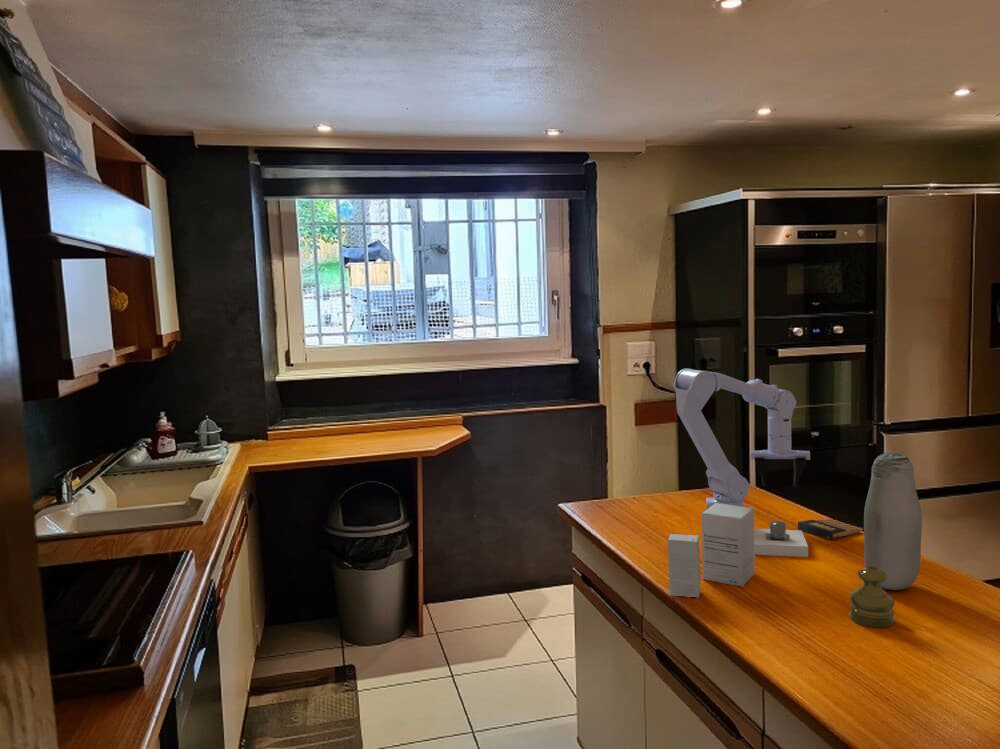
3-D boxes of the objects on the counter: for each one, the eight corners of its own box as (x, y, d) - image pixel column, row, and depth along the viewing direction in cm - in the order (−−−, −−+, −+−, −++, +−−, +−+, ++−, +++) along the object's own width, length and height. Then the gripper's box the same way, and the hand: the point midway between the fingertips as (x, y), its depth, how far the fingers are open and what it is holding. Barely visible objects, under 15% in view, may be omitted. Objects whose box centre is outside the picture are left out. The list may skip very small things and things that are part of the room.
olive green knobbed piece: (892, 632, 135) (893, 578, 134) (847, 623, 139) (847, 571, 138) (896, 616, 141) (896, 564, 140) (852, 609, 145) (852, 558, 144)
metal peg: (770, 549, 179) (770, 525, 179) (769, 544, 183) (769, 520, 182) (786, 550, 179) (786, 525, 178) (784, 545, 182) (784, 521, 181)
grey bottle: (874, 574, 161) (875, 446, 158) (926, 586, 154) (929, 452, 151) (856, 588, 154) (857, 454, 152) (910, 601, 147) (912, 461, 144)
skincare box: (700, 591, 157) (699, 535, 155) (699, 599, 153) (698, 541, 151) (671, 588, 159) (669, 533, 157) (668, 596, 155) (667, 539, 153)
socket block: (753, 554, 176) (753, 544, 176) (750, 538, 188) (750, 528, 188) (808, 557, 173) (808, 546, 173) (801, 540, 185) (801, 530, 185)
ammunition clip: (831, 540, 184) (866, 533, 189) (831, 532, 183) (866, 526, 189) (797, 528, 193) (831, 522, 198) (797, 521, 193) (831, 515, 198)
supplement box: (715, 566, 170) (714, 501, 168) (755, 573, 165) (755, 507, 163) (701, 579, 163) (700, 512, 161) (742, 587, 157) (742, 518, 156)
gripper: (751, 437, 193) (752, 489, 194) (812, 437, 189) (812, 490, 191) (749, 432, 200) (749, 482, 201) (807, 432, 196) (807, 483, 198)
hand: (779, 486), depth 196 cm, fingers open, 7 cm apart
